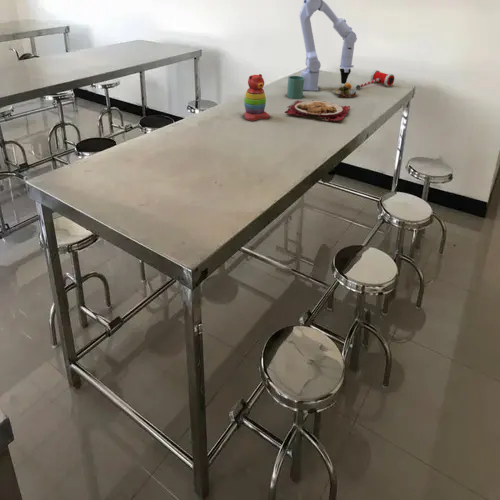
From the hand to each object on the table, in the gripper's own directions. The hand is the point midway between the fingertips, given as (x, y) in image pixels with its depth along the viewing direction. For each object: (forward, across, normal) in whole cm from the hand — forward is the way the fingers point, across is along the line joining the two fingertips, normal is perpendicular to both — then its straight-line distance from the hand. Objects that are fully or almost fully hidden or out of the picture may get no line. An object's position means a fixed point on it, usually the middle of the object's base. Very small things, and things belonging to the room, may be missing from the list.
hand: (343, 83), depth 255 cm
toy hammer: (+3, +10, -18) cm, 21 cm away
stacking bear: (+3, -54, +42) cm, 68 cm away
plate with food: (+3, -42, +14) cm, 44 cm away
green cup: (+3, -19, +25) cm, 31 cm away
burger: (+3, -11, 0) cm, 11 cm away
